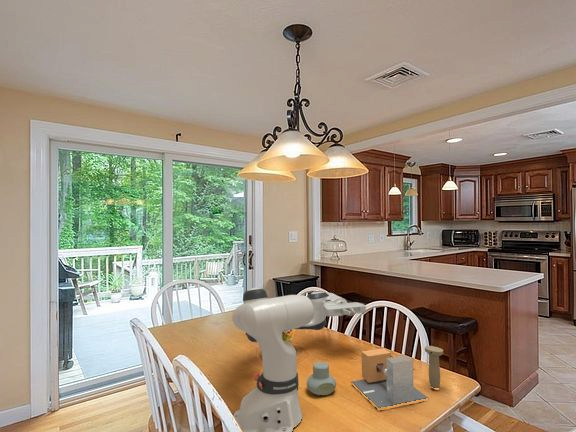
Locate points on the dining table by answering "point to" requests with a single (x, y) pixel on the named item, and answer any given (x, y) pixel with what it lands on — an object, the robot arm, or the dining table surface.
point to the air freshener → (321, 380)
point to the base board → (381, 392)
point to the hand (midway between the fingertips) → (352, 313)
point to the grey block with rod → (398, 379)
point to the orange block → (374, 364)
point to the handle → (434, 365)
